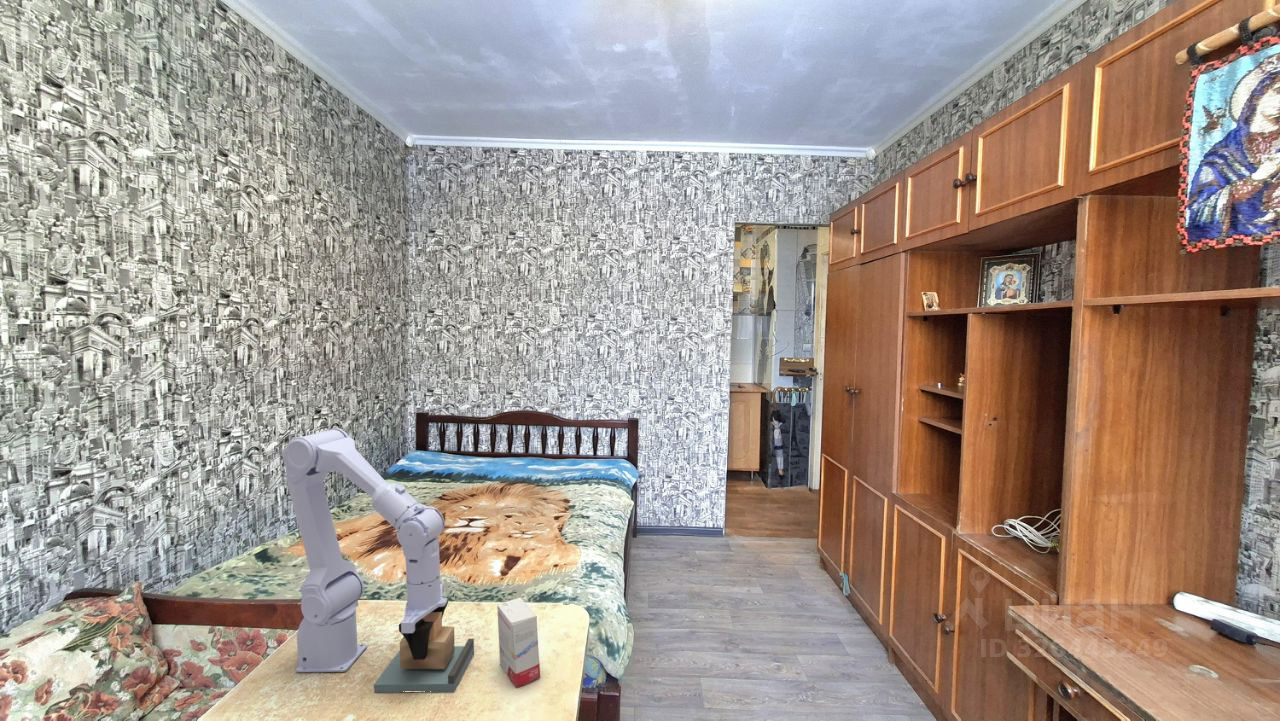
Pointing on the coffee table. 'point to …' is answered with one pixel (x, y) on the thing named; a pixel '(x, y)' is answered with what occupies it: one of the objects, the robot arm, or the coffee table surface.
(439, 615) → the carton
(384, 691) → the dock
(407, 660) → the tan rectangular block
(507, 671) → the ink box
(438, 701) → the coffee table surface
